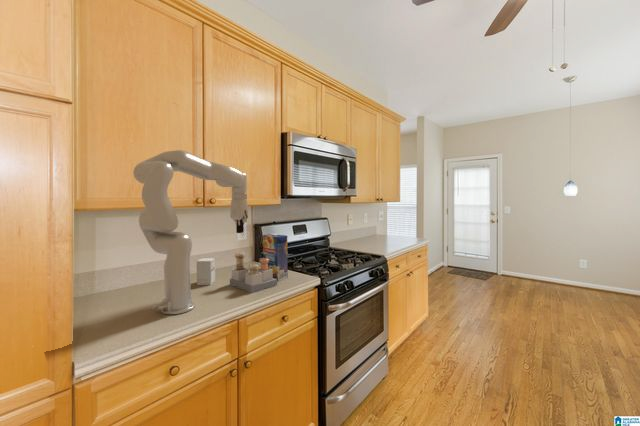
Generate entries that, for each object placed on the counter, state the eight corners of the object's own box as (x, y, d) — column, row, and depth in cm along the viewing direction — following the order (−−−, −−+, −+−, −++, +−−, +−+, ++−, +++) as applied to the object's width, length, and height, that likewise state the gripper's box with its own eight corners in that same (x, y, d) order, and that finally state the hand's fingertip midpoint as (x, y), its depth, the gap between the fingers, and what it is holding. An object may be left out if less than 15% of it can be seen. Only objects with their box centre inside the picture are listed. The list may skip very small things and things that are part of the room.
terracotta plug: (263, 277, 146) (263, 260, 145) (257, 275, 149) (257, 258, 148) (271, 275, 149) (270, 258, 149) (265, 273, 153) (265, 257, 152)
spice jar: (252, 284, 139) (252, 267, 138) (246, 282, 142) (246, 265, 141) (260, 282, 142) (260, 265, 142) (255, 280, 145) (254, 263, 145)
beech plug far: (238, 271, 146) (238, 255, 146) (233, 270, 149) (233, 253, 149) (246, 269, 150) (246, 253, 149) (241, 268, 153) (241, 252, 152)
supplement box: (211, 285, 148) (210, 261, 148) (196, 285, 148) (195, 261, 147) (215, 280, 156) (215, 257, 155) (201, 281, 155) (201, 258, 155)
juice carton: (287, 278, 161) (287, 235, 160) (277, 281, 156) (277, 237, 154) (273, 274, 169) (273, 233, 167) (263, 277, 163) (262, 235, 161)
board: (251, 292, 137) (251, 276, 136) (229, 284, 149) (229, 269, 149) (277, 285, 149) (277, 269, 148) (255, 277, 161) (255, 263, 161)
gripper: (225, 197, 149) (225, 232, 150) (241, 197, 139) (241, 235, 140) (237, 196, 155) (238, 230, 156) (254, 197, 145) (254, 233, 146)
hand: (240, 232), depth 148 cm, fingers closed
